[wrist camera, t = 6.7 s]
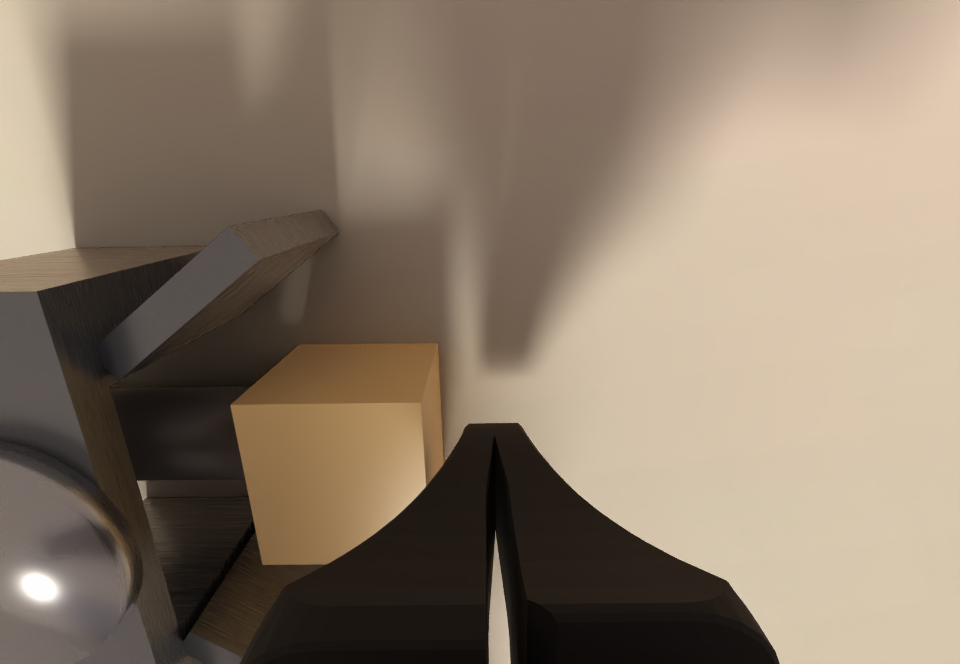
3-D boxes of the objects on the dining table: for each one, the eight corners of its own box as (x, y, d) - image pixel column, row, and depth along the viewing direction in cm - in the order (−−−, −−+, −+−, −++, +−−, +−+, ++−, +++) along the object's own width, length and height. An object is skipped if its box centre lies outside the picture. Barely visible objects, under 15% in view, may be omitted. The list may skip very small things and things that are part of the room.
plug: (438, 342, 13) (420, 402, 10) (444, 468, 15) (430, 563, 11) (-128, 350, 13) (-353, 412, 10) (-73, 474, 15) (-254, 568, 11)
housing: (337, 209, 12) (205, 234, 6) (376, 567, 16) (314, 787, 10) (49, 214, 12) (-334, 244, 6) (154, 569, 16) (-31, 787, 10)
